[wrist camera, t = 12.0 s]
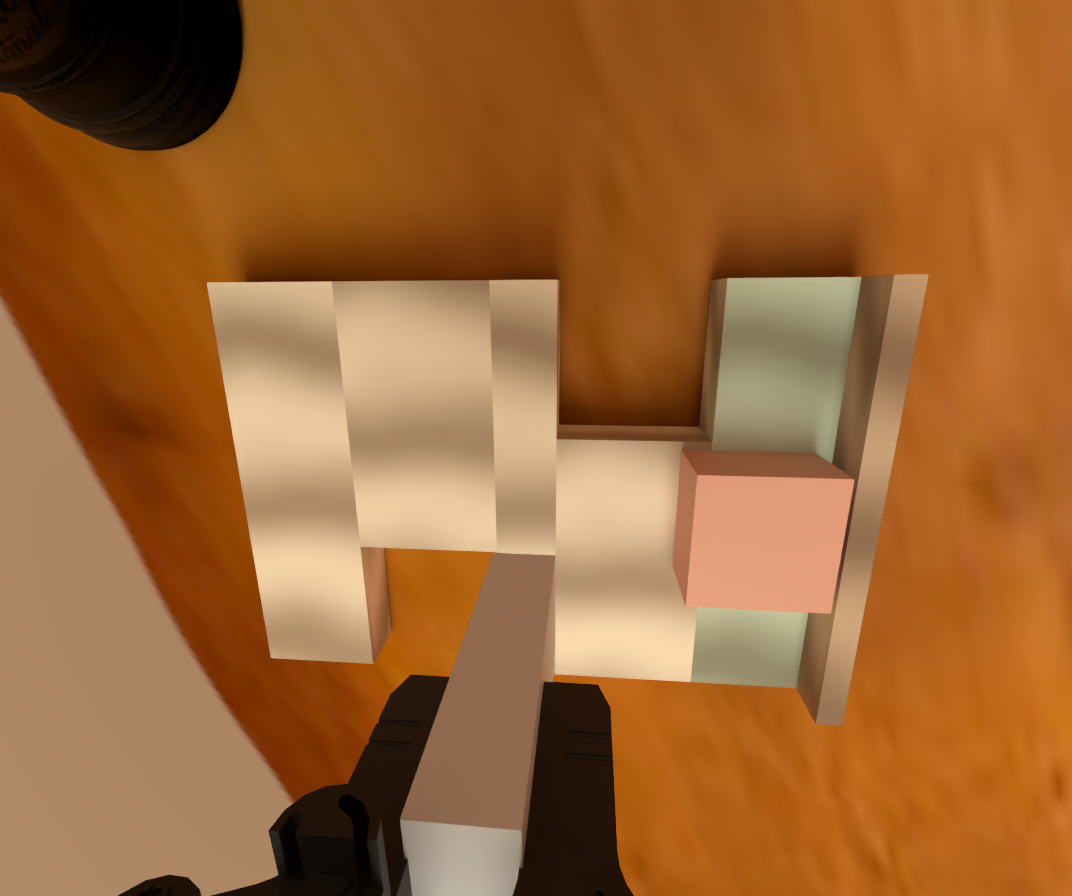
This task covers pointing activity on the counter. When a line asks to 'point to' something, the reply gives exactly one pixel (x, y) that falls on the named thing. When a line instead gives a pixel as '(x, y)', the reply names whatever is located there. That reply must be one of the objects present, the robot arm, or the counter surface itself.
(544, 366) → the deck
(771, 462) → the block
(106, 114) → the container
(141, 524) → the counter surface
